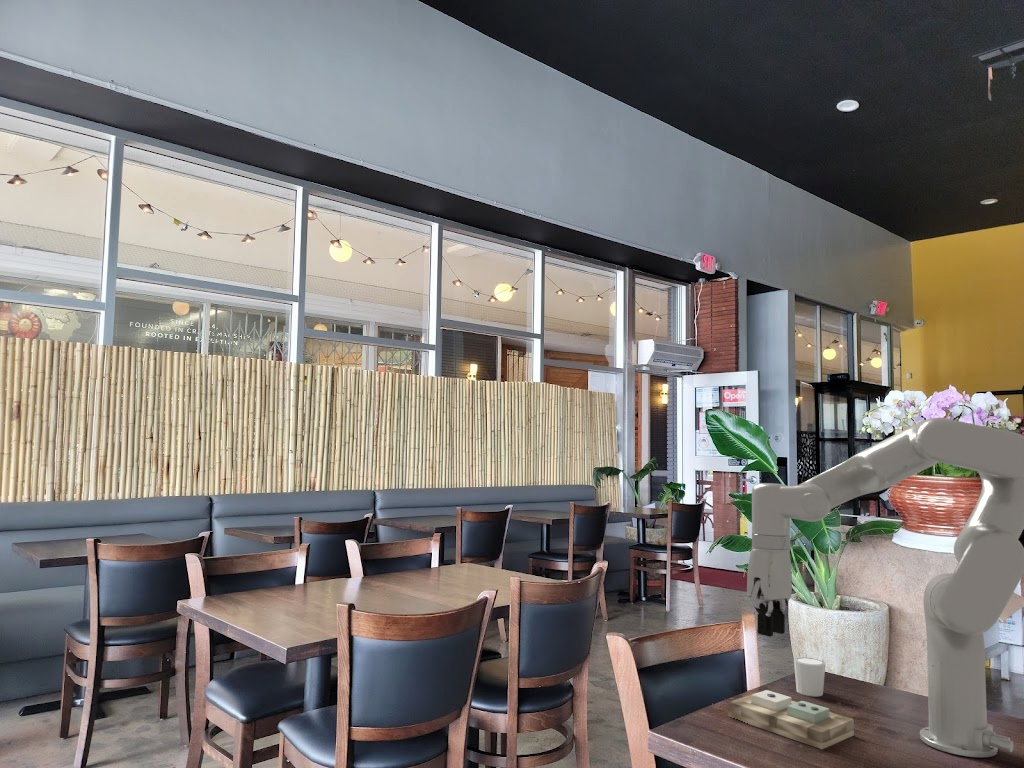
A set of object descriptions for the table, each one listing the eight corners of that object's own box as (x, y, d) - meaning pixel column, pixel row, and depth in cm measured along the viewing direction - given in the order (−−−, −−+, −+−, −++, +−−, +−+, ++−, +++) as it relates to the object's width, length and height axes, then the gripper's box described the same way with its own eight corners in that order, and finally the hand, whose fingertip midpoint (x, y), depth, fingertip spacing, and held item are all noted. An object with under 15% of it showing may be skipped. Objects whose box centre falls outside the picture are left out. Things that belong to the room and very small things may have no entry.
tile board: (853, 735, 142) (853, 719, 142) (822, 749, 135) (822, 732, 135) (761, 705, 158) (761, 691, 158) (728, 717, 150) (728, 701, 150)
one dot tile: (791, 708, 149) (791, 696, 149) (776, 713, 145) (776, 701, 146) (766, 700, 153) (766, 688, 154) (751, 705, 150) (751, 693, 150)
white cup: (829, 698, 164) (828, 666, 165) (796, 695, 165) (796, 663, 166) (822, 689, 171) (822, 658, 171) (791, 686, 172) (791, 655, 173)
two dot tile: (829, 720, 143) (829, 707, 143) (814, 726, 139) (814, 713, 139) (802, 711, 147) (802, 699, 147) (787, 717, 144) (787, 704, 144)
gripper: (776, 539, 161) (776, 625, 159) (731, 543, 150) (731, 635, 148) (808, 543, 155) (809, 632, 153) (764, 547, 144) (764, 643, 143)
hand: (771, 632), depth 151 cm, fingers open, 3 cm apart
